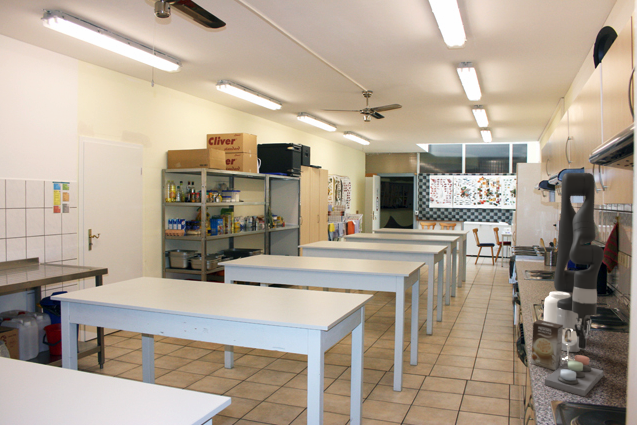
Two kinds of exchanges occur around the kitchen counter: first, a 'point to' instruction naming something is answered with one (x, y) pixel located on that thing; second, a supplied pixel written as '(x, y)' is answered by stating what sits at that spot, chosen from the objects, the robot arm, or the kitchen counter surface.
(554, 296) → the white bottle
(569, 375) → the white button
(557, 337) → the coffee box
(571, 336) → the wineglass
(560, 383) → the panel
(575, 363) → the sage button
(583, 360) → the brick button
